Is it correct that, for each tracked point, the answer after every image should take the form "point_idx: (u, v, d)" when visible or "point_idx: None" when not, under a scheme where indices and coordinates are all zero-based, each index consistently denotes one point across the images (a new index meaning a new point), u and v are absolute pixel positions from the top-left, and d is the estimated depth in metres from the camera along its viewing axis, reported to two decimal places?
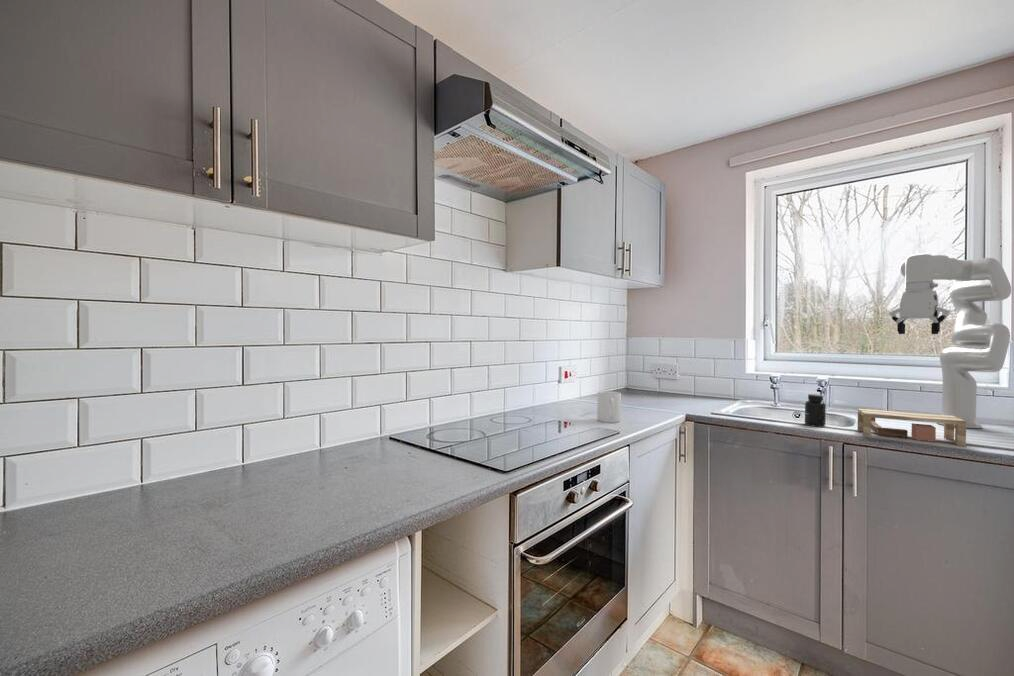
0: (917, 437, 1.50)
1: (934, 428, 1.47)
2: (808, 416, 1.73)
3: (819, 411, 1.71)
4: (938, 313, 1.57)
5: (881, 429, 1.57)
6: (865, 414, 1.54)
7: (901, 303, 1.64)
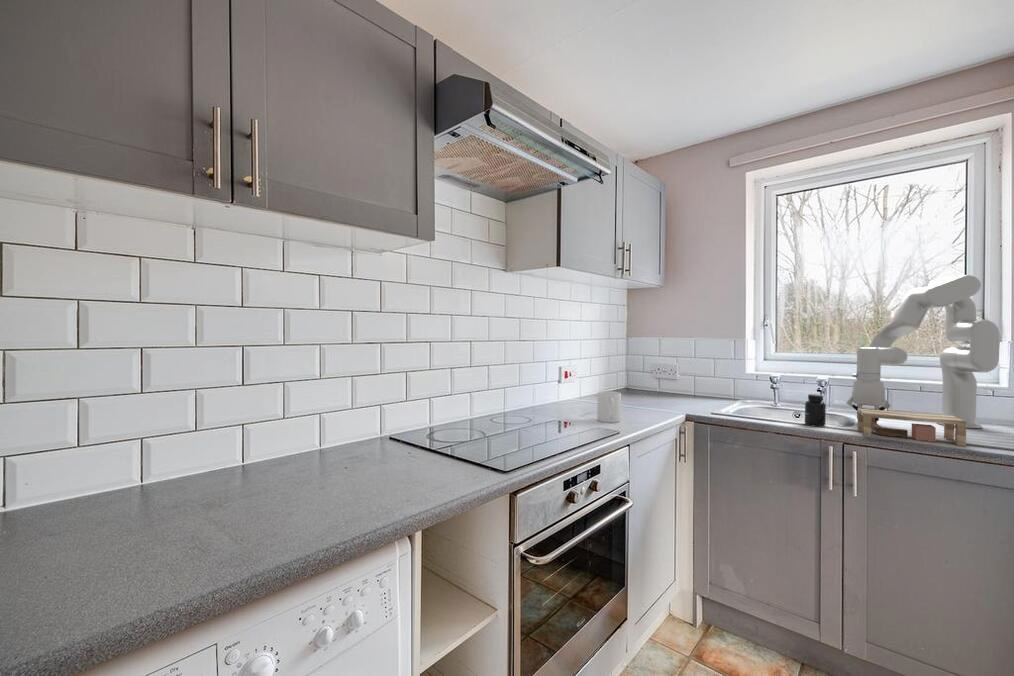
0: (917, 437, 1.50)
1: (934, 428, 1.47)
2: (808, 416, 1.73)
3: (819, 411, 1.71)
4: (853, 400, 1.78)
5: (881, 429, 1.57)
6: (865, 414, 1.54)
7: None
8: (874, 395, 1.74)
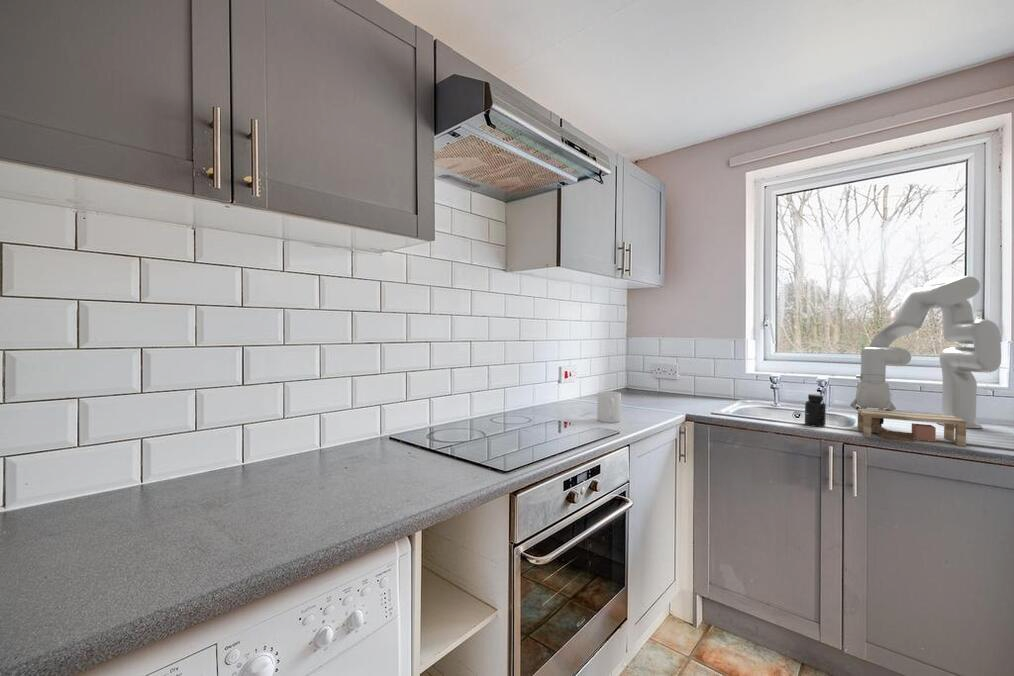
0: (917, 437, 1.50)
1: (934, 428, 1.47)
2: (808, 416, 1.73)
3: (819, 411, 1.71)
4: (857, 402, 1.73)
5: (886, 432, 1.51)
6: (865, 414, 1.54)
7: None
8: (879, 397, 1.68)
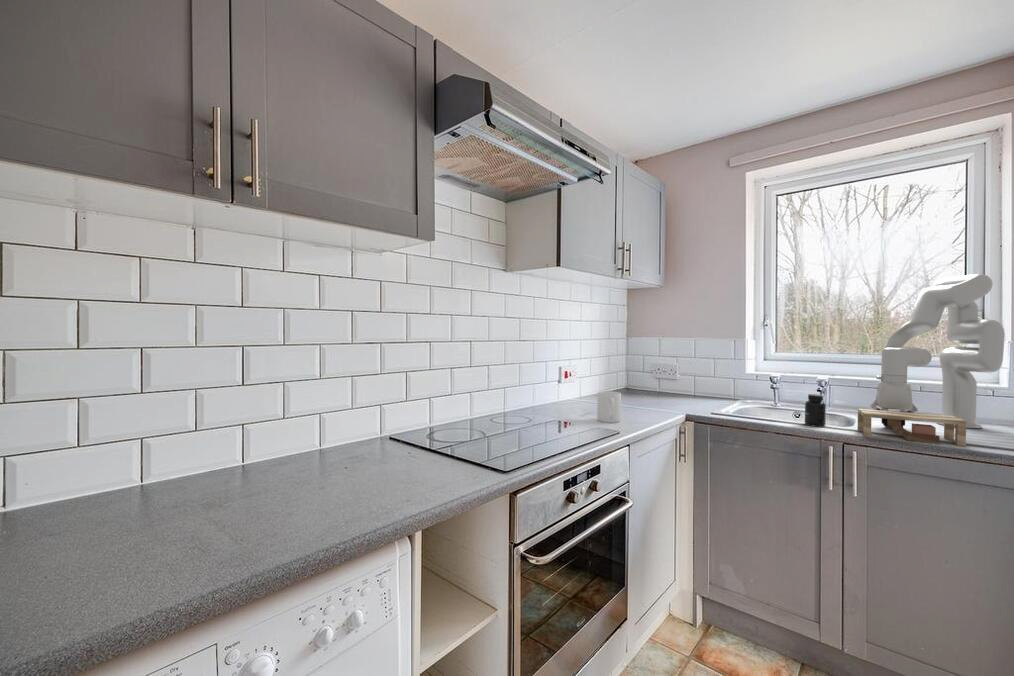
0: None
1: (934, 428, 1.47)
2: (808, 416, 1.73)
3: (819, 411, 1.71)
4: (877, 403, 1.69)
5: (911, 435, 1.48)
6: (865, 414, 1.54)
7: None
8: (900, 398, 1.65)
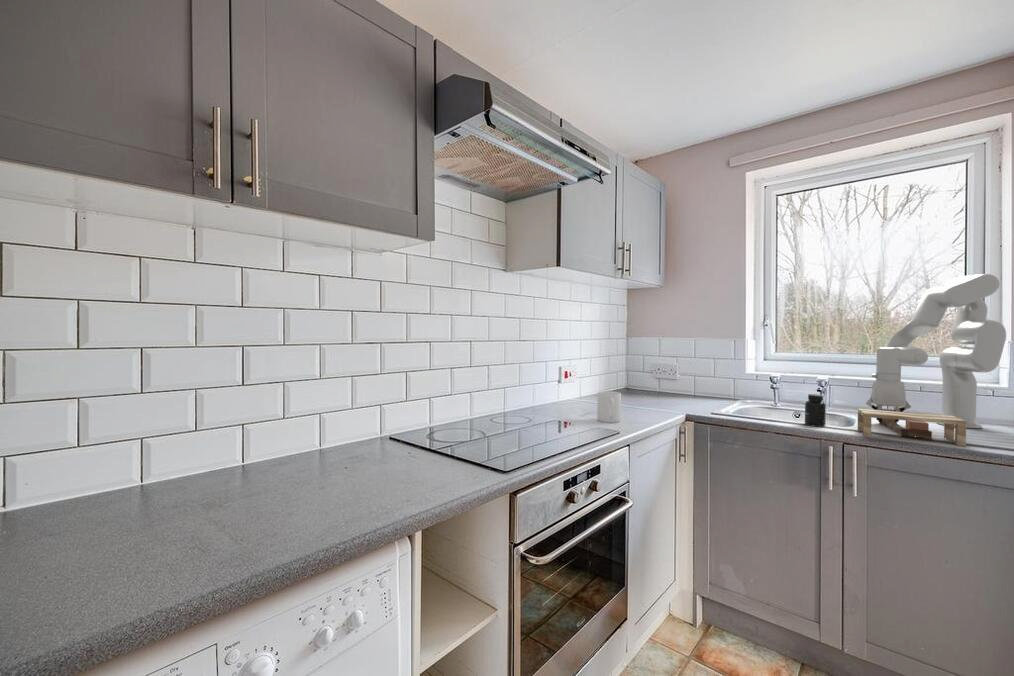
0: None
1: (927, 424, 1.54)
2: (808, 416, 1.73)
3: (819, 411, 1.71)
4: (872, 400, 1.77)
5: (904, 430, 1.55)
6: (865, 414, 1.54)
7: None
8: (894, 396, 1.73)
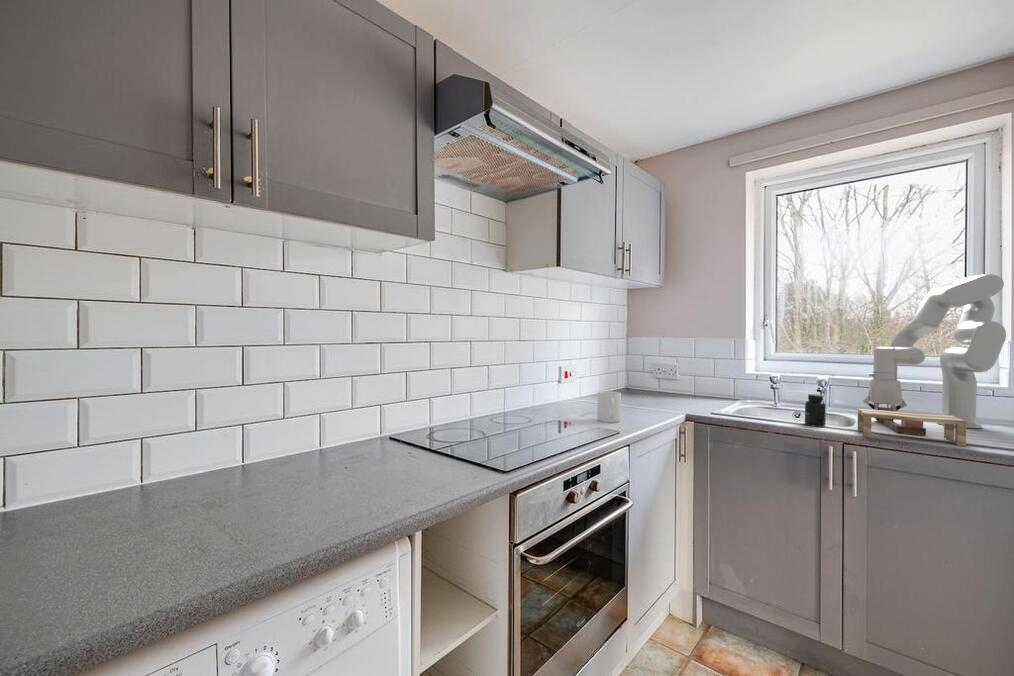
0: None
1: (922, 422, 1.58)
2: (808, 416, 1.73)
3: (819, 411, 1.71)
4: (870, 399, 1.81)
5: (900, 427, 1.60)
6: (865, 414, 1.54)
7: None
8: (891, 394, 1.77)
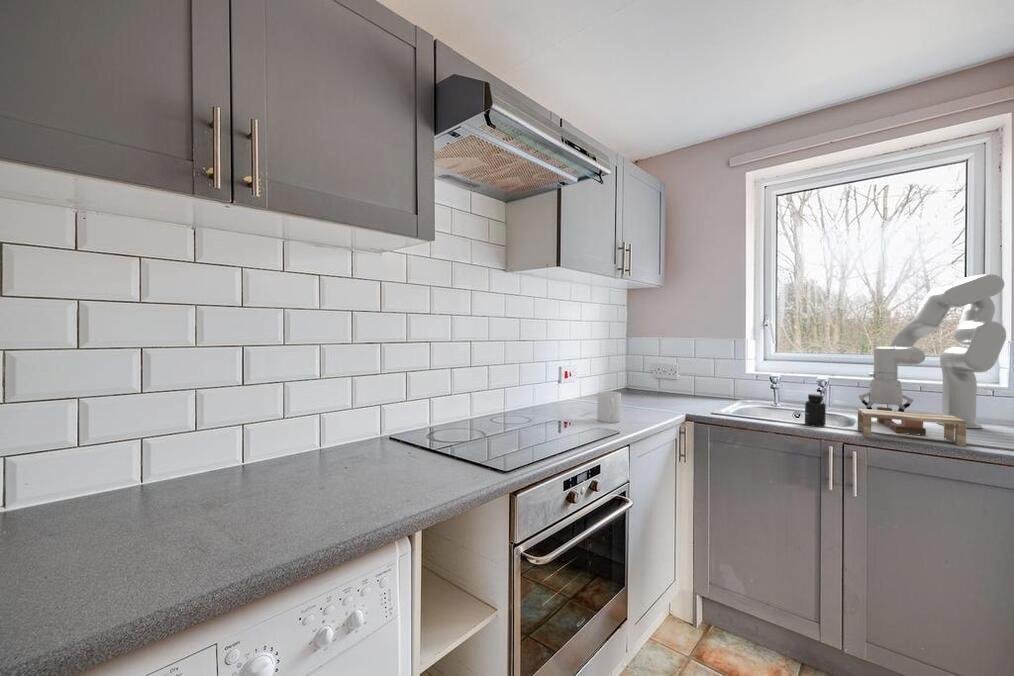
0: None
1: (922, 422, 1.58)
2: (808, 416, 1.73)
3: (819, 411, 1.71)
4: (870, 399, 1.81)
5: (899, 427, 1.60)
6: (865, 414, 1.54)
7: None
8: (891, 394, 1.77)
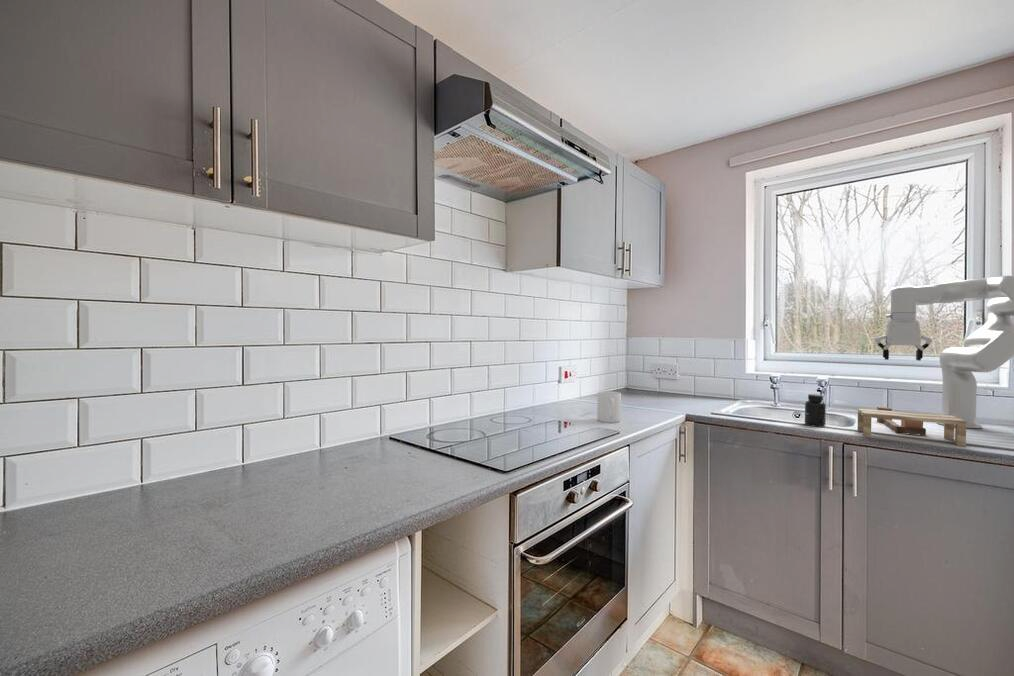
0: None
1: (922, 422, 1.58)
2: (808, 416, 1.73)
3: (819, 411, 1.71)
4: (887, 341, 1.75)
5: (899, 427, 1.60)
6: (865, 414, 1.54)
7: None
8: (909, 334, 1.71)
